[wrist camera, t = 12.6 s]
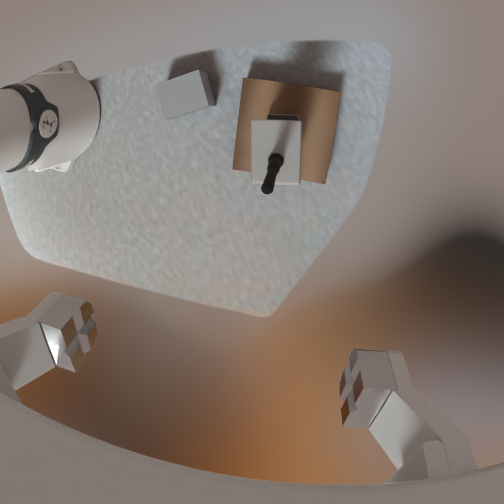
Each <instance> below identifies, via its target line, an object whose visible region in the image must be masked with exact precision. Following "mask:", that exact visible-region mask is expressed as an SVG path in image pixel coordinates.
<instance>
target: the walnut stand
mask: <svg viewBox="0 0 504 504" xmlns="http://www.w3.org/2000/svg"><path fill="white" fill-rule="evenodd" d="M340 97H341V92H336V91H331V90H326V89H321V88H315V87H310V86H304V85H297V84H291V83H284V82H277V81H269V80H261V79H252V78H243V84H242V92H241V100H240V108H239V117H238V125H237V134H236V142H235V151H234V160H233V169H234V170H242V171H249V172H251V120H266V119H267V114H287V115H299V121H302V151H301V179H300V180H306V181H311V182H317V183H322V184H325V183H326V178H327V173H328V167H329V162H330V156H331V151H332V145H333V139H334V134H335V128H336V122H337V116H338V109H339V103H340Z"/></svg>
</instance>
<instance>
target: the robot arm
mask: <svg viewBox="0 0 504 504" xmlns="http://www.w3.org/2000/svg"><path fill="white" fill-rule="evenodd" d="M62 69H63V71H62ZM99 119H100V107H99V101H98V97H97V94H96V92H95V90H94V88H93V86H92V85H91V84H90V82H89V81H88V80H87V79H85V78H84V77H83V76H81V75H80V74H79V72H78V70H77V68H76V66H75V64H74V63H73V62H72V61H66V62H63V63H61V64H58V65H56V66H54V67H52V68H49V69H47V70H45V71H43V72H41V73H37V74H36V75H34V76H32V77H30V78H28V79H26V80H24V81H22V82H20V83H16V84H11V85H8V86H5V87H3V88H1V89H0V174H1V173H3V172H13V171H18V170H21V169H24V168H26V167H28V170H29V171H33V170H35V171H36V172H40V171H43V170H46V169H50V168H51V169H54V170H57V171H60V172H68V171H69V170H70V169H71V168H72V166H73V164H74V162H75V160H76V158H77V157H78V156H79V155H81V154H82V153H83V152H84V151H85V150H86V149H87V148H88V147H89V146H90V144H91V143H92V141H93V139H94V137H95V135H96V132H97V129H98V125H99ZM92 314H93V308H92V304H91V303H89V302H88V301H84V300H81V299H77V298H74V297H71V296H68V295H63V294H60V293H57V292H51V293H49V294H48V295H47V296H46V297H45V298H44V299H43V300H42V301H41V302H40V303H39V304H38V305H37V306H36V307H35V308H34V309H33V310H32V311H31V312H30V313H29V314H28V315H27V316H26V317H20V318H17V319H14V320H12V321H9V322H6V323H3V324H1V325H0V504H504V462H503V463H500V464H496V465H492V466H489V467H484V468H481V469H477V467H476V463H475V459H474V456H473V453H472V449H471V446H470V443H469V440H468V437H467V435H466V434H465V433H464V432H463V431H461V429H459V428H458V427H457V426H456V425H455V424H454V423H453V422H452V421H451V420H450V419H449V418H448V417H446V416H445V415H444V414H443V413H442V412H441V411H440V410H439V409H438V408H437V407H436V406H435V405H433V404H432V403H431V402H430V401H429V400H428V399H427V398H426V397H425V396H424V395H423V394H421V393H420V392H419V391H418V390H414V388H413V386H412V382H411V379H410V376H409V373H408V370H407V367H406V364H405V360H404V358H403V354H402V353H401V352H400V351H381V350H366V349H355V348H354V349H353V350H352V352H351V354H350V356H349V364H350V365H348V366H347V367H345V368H344V371H343V373H342V376H341V380H340V391H339V392H340V398H341V399H342V400H343V401H344V404H343V406H342V408H341V415H342V426H346V427H347V426H348V427H365V428H366V427H367V428H369V430H370V432H371V433H372V434H373V436H374V437H375V439H376V440H377V441H378V443H379V444H380V446H381V447H382V448H383V450H384V451H385V453H386V454H387V455H388V457H389V458H390V459H391V461H392V462H393V464H394V465H395V466H396V468H397V469H398V471H397V472H396V473H395V474H394V475H392V476H391V477H390V478H389V479H388V480H387V481H386V482H385V483H379V484H357V485H323V484H300V483H286V482H275V481H266V480H258V479H249V478H243V477H236V476H230V475H224V474H218V473H214V472H208V471H204V470H199V469H194V468H190V467H185V466H181V465H177V464H173V463H169V462H166V461H162V460H158V459H155V458H151V457H148V456H145V455H141V454H138V453H135V452H132V451H129V450H126V449H123V448H120V447H117V446H114V445H111V444H109V443H105V442H103V441H100V440H98V439H95V438H92V437H90V436H88V435H85V434H83V433H80V432H78V431H76V430H73V429H71V428H69V427H66V426H64V425H62V424H60V423H58V422H56V421H54V420H51V419H49V418H47V417H45V416H43V415H41V414H39V413H37V412H35V411H33V410H31V409H29V408H28V407H26V406H24V405H22V404H21V401H20V399H19V397H18V396H17V394H16V392H15V390H17V389H19V388H20V387H22V386H23V385H25V384H27V383H29V382H30V381H32V380H34V379H35V378H37V377H39V376H40V375H42V374H44V373H45V372H47V371H49V370H50V369H52V368H54V367H55V365H56V366H59V367H61V368H65V369H67V370H70V371H73V372H76V371H77V369H78V367H79V366H80V365H81V363H82V362H83V361H84V359H85V358H84V353H85V352H87V351H90V350H91V349H92V347H93V346H94V344H95V342H96V338H97V326H96V323H95V321H94V320H93V319H92V317H91V316H92Z"/></svg>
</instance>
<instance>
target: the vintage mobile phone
mask: <svg viewBox="0 0 504 504" xmlns="http://www.w3.org/2000/svg"><path fill="white" fill-rule="evenodd" d="M301 151H302V121H299V115H287V114H267V119H266V120H251V183H252V184H262V187H261V190H262V192H263V193H265V194H270V193H272V192H273V189H274V184H279V185H300V179H301Z"/></svg>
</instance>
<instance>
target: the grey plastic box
mask: <svg viewBox="0 0 504 504" xmlns="http://www.w3.org/2000/svg"><path fill="white" fill-rule="evenodd" d="M156 89H157V92H158V96H159V99H160V103H161V106H162V110H163V113H164V117H165V120H168V119H175V118H178V117H181V116H184V115H187V114H190V113H193V112H197V111H200V110H203V109H206V108H210V107H213V106H216V104H215V100H214V97H213V93H212V90H211V86H210V83H209V79H208V75H207V72H204V71H201V70H196V71H193V72H190V73H187V74H184V75H181V76H178V77H176V78H173V79H170V80H167V81H165V82H162V83H160V84H157V85H156Z"/></svg>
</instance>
